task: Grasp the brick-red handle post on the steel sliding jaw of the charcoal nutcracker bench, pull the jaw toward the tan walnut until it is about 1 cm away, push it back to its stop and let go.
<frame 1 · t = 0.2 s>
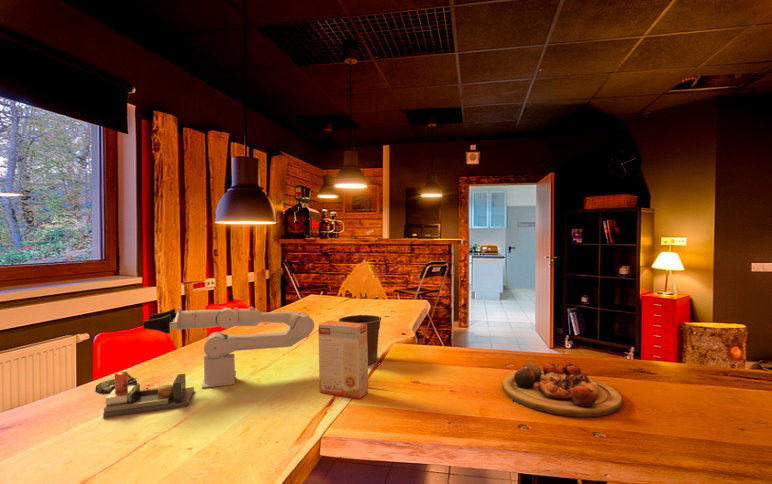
hand: (146, 321, 120), 22 cm above the table, tool horizontal, fingers open, 7 cm apart
wooden plate with food: (559, 396, 114), on the table
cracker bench: (152, 403, 111), on the table
cracker box: (343, 393, 117), on the table
walnut: (166, 397, 112), point 1 cm above the table, touching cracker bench
log: (116, 388, 124), on the table
sliding jaw: (123, 387, 109), point 6 cm above the table, slide at 0.0 cm
plant pot: (360, 361, 148), on the table
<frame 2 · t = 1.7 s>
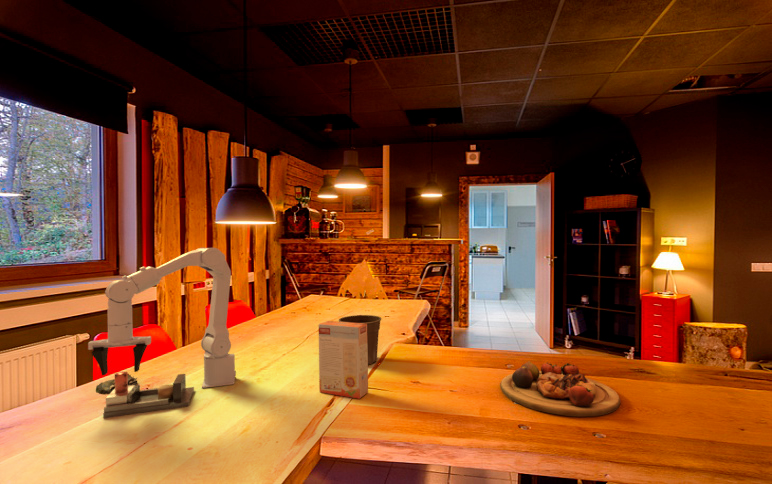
hand: (120, 372, 109), 10 cm above the table, tool pointing down, fingers open, 7 cm apart
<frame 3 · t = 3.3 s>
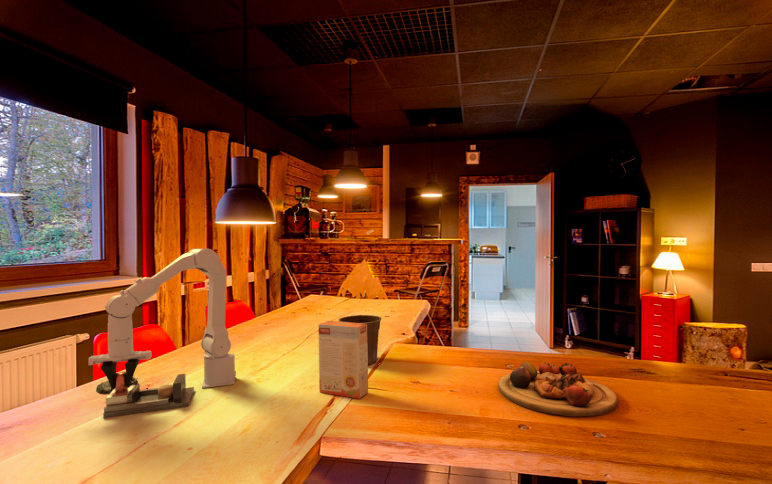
hand: (121, 387, 109), 6 cm above the table, tool pointing down, fingers closed on sliding jaw, 3 cm apart
sliding jaw: (123, 387, 109), point 6 cm above the table, slide at 0.0 cm, touching gripper
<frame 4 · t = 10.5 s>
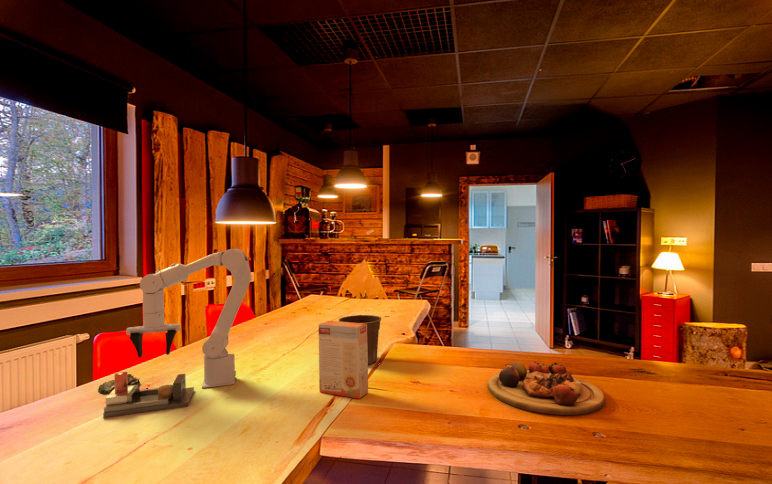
hand: (154, 355, 123), 10 cm above the table, tool pointing down, fingers open, 7 cm apart
wooden plate with food: (543, 394, 115), on the table
sliding jaw: (123, 387, 109), point 6 cm above the table, slide at 0.0 cm
at the end: sliding jaw slide at 0.0 cm; walnut moved 0.0 cm from its start; the gripper is holding nothing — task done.
